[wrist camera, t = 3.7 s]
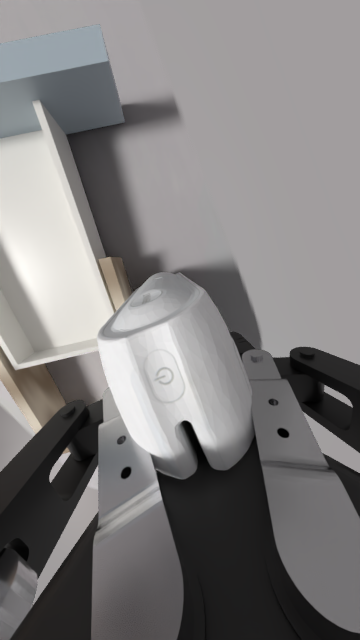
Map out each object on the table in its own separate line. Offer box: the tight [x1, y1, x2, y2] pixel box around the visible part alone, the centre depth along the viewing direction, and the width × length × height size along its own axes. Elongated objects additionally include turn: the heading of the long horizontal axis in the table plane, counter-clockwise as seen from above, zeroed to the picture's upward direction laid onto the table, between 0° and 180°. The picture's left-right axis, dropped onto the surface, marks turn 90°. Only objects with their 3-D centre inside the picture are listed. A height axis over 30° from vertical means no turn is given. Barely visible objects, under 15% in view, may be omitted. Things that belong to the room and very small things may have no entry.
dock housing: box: [0, 257, 132, 454], centre depth 16 cm, size 16×11×4 cm
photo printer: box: [97, 272, 255, 479], centre depth 10 cm, size 10×4×12 cm, turn 20°
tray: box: [0, 24, 125, 370], centre depth 12 cm, size 16×17×4 cm
